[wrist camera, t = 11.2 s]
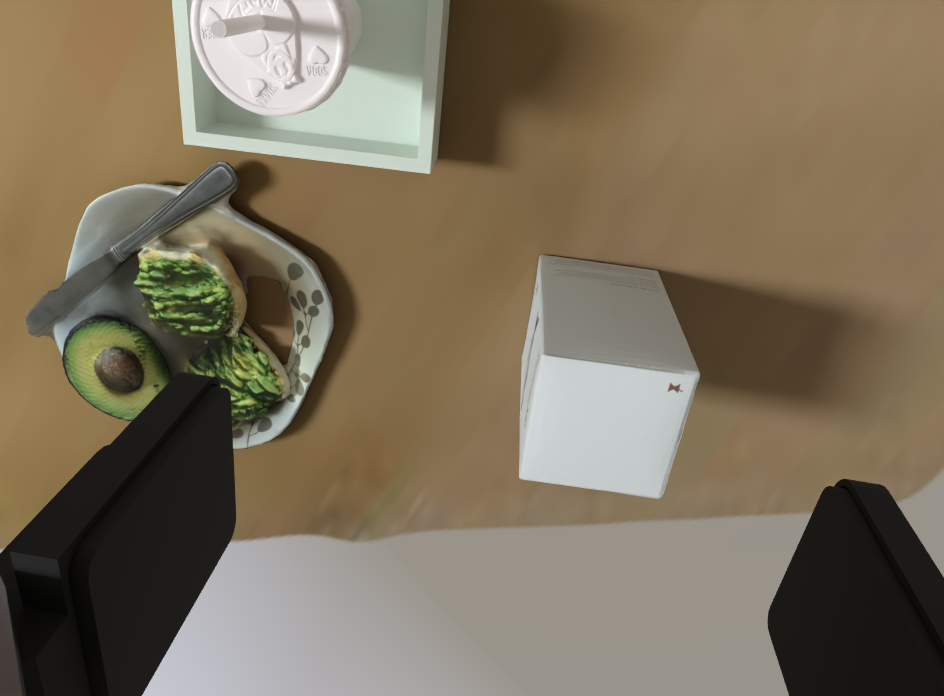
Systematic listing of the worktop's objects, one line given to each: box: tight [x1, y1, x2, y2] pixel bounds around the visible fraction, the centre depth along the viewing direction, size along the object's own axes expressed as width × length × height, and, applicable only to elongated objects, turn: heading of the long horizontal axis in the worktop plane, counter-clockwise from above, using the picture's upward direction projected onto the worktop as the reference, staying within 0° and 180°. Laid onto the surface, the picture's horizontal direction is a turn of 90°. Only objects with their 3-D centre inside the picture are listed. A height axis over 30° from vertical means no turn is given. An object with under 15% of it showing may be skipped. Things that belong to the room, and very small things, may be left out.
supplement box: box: [519, 255, 700, 499], centre depth 39 cm, size 7×7×13 cm
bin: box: [172, 0, 450, 174], centre depth 36 cm, size 13×13×4 cm
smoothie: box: [190, 0, 363, 117], centre depth 31 cm, size 6×6×14 cm
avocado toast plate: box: [26, 162, 334, 449], centre depth 44 cm, size 19×18×5 cm
